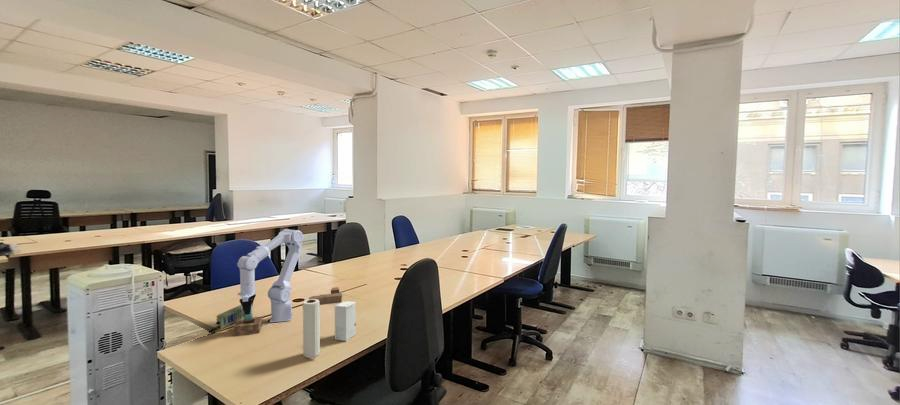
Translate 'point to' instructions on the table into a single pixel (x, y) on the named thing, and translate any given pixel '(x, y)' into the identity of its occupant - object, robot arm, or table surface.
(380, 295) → the table surface
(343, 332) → the skincare box
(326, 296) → the wooden block set
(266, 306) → the table surface
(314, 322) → the paper towel roll
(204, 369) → the table surface
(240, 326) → the socket block
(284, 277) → the robot arm
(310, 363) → the table surface
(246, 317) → the peg
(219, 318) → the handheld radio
